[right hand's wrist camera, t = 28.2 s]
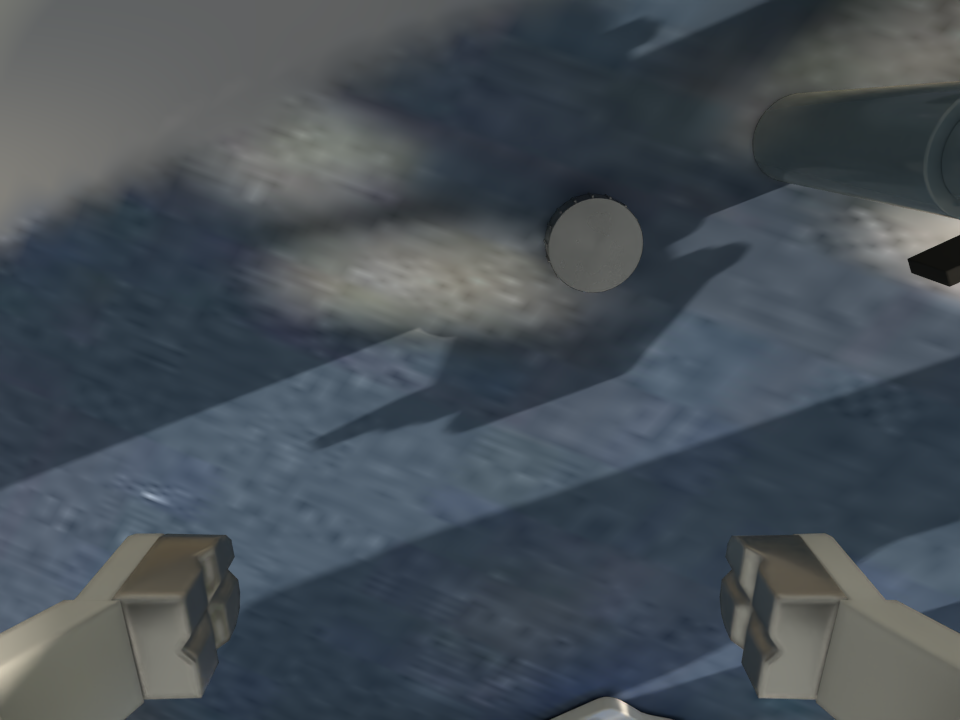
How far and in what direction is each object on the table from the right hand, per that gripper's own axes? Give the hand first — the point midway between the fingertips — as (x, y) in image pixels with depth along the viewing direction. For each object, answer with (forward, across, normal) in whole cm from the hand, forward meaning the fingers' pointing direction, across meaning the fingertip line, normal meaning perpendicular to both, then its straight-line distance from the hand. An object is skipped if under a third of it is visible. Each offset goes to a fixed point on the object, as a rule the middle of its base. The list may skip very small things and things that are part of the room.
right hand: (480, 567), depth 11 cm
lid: (+25, +6, +1) cm, 26 cm away
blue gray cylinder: (+27, +16, +6) cm, 32 cm away
